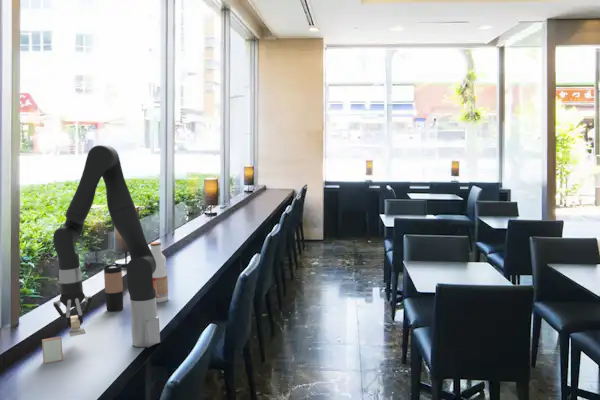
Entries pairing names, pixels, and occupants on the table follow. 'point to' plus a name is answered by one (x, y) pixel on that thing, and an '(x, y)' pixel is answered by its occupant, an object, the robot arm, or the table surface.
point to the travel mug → (113, 288)
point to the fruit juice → (159, 273)
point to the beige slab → (76, 327)
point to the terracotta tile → (52, 349)
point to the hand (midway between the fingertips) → (75, 325)
